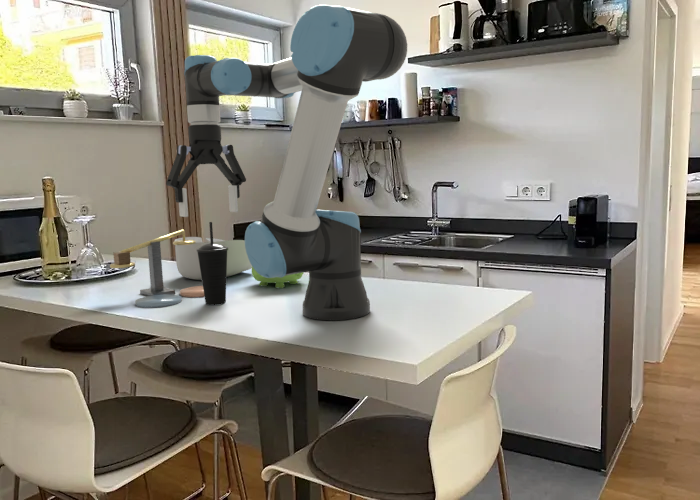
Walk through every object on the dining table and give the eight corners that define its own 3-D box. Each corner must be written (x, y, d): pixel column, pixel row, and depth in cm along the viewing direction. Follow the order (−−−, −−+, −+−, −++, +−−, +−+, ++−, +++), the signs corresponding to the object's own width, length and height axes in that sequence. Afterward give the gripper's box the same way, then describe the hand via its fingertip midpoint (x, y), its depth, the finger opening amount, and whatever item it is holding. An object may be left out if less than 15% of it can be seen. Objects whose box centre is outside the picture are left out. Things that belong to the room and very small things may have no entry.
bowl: (163, 279, 187) (160, 240, 186) (211, 269, 203) (209, 233, 201) (209, 285, 176) (207, 244, 174) (256, 274, 192) (254, 235, 190)
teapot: (245, 291, 167) (242, 244, 165) (248, 280, 181) (246, 237, 179) (305, 288, 168) (303, 241, 166) (304, 278, 182) (302, 235, 180)
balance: (204, 288, 171) (200, 229, 169) (120, 304, 156) (114, 238, 153) (190, 284, 177) (186, 227, 175) (107, 299, 161) (102, 236, 159)
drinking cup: (224, 307, 149) (219, 223, 146) (194, 306, 150) (188, 223, 148) (236, 299, 156) (231, 220, 153) (207, 299, 158) (202, 220, 155)
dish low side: (189, 301, 156) (189, 298, 156) (148, 309, 148) (147, 306, 148) (169, 295, 164) (168, 292, 164) (128, 302, 156) (128, 299, 156)
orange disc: (230, 291, 166) (230, 288, 166) (193, 299, 159) (192, 296, 158) (208, 286, 174) (208, 283, 174) (172, 293, 167) (172, 290, 166)
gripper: (240, 125, 158) (244, 209, 162) (147, 124, 142) (153, 217, 145) (257, 124, 153) (261, 210, 156) (162, 122, 136) (169, 219, 139)
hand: (209, 214), depth 150 cm, fingers open, 13 cm apart
